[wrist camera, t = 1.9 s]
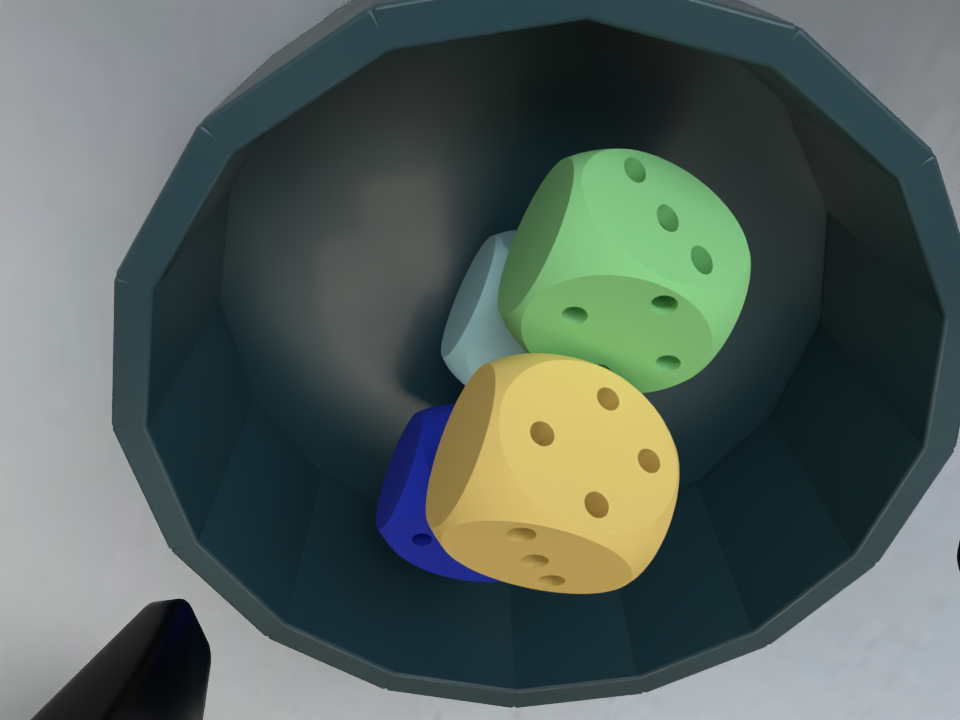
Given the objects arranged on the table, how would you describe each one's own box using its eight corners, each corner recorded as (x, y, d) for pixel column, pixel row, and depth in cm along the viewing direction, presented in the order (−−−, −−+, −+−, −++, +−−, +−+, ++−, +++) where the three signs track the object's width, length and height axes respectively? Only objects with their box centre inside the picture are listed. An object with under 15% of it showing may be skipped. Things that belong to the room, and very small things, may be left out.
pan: (871, -115, 12) (1063, -111, 8) (819, 496, 18) (915, 663, 14) (100, 17, 13) (-57, 76, 9) (299, 562, 19) (258, 738, 15)
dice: (496, 486, 17) (513, 772, 12) (381, 446, 17) (340, 728, 11) (699, 144, 14) (863, 327, 8) (561, 77, 13) (634, 225, 7)
